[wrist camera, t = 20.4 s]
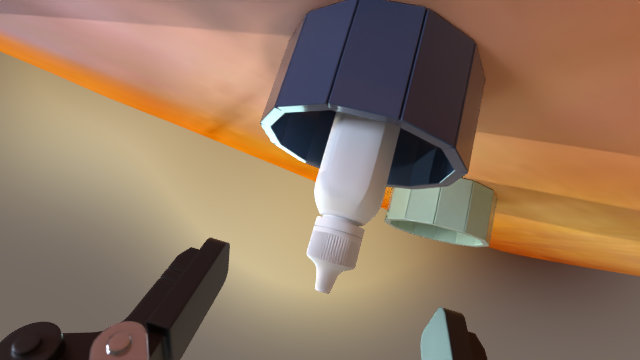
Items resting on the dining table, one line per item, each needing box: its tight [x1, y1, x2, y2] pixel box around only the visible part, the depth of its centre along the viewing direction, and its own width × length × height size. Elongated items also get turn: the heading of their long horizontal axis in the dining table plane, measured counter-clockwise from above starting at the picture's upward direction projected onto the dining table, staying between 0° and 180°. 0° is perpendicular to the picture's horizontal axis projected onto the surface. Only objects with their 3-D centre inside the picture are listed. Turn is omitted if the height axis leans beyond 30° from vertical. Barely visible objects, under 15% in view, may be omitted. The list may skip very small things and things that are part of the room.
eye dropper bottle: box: [307, 111, 400, 294], centre depth 16 cm, size 4×6×12 cm
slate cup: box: [260, 0, 485, 190], centre depth 17 cm, size 10×10×5 cm
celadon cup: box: [385, 178, 497, 247], centre depth 34 cm, size 10×10×5 cm
